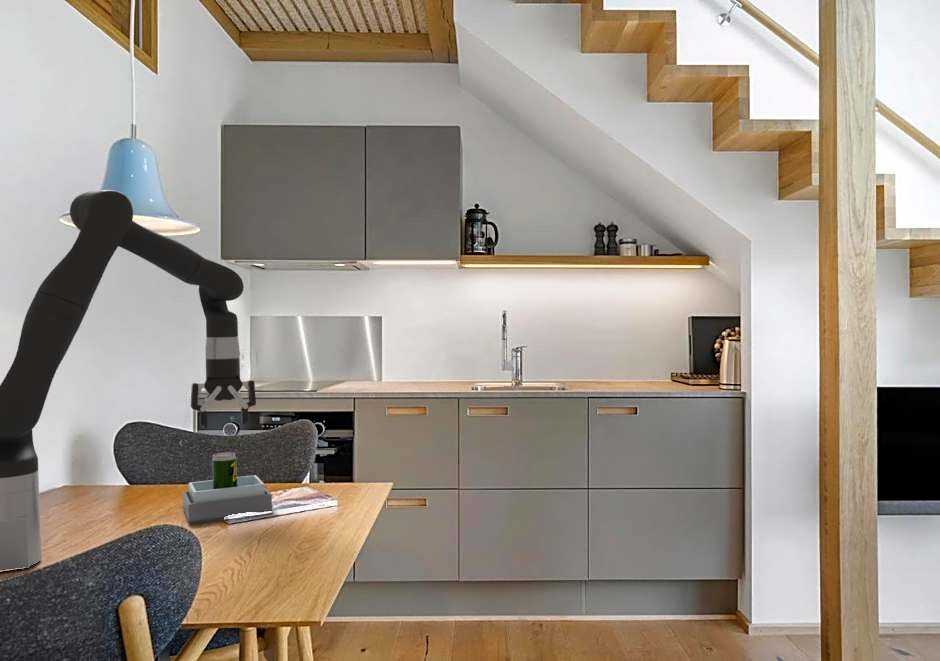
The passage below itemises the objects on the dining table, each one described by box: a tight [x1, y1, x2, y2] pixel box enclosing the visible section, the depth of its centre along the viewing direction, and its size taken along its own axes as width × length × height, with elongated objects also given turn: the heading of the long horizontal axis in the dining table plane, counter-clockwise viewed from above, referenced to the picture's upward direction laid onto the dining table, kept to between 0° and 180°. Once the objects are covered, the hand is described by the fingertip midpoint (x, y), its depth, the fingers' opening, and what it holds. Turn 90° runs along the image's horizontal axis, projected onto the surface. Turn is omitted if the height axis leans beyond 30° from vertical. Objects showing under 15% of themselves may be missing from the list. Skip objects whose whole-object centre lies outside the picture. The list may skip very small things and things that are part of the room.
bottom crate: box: [182, 487, 273, 526], centre depth 175 cm, size 14×18×4 cm
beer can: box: [211, 451, 238, 489], centre depth 175 cm, size 5×5×12 cm
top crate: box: [188, 474, 266, 504], centre depth 175 cm, size 11×15×6 cm
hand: (224, 426), depth 175 cm, fingers open, 8 cm apart
